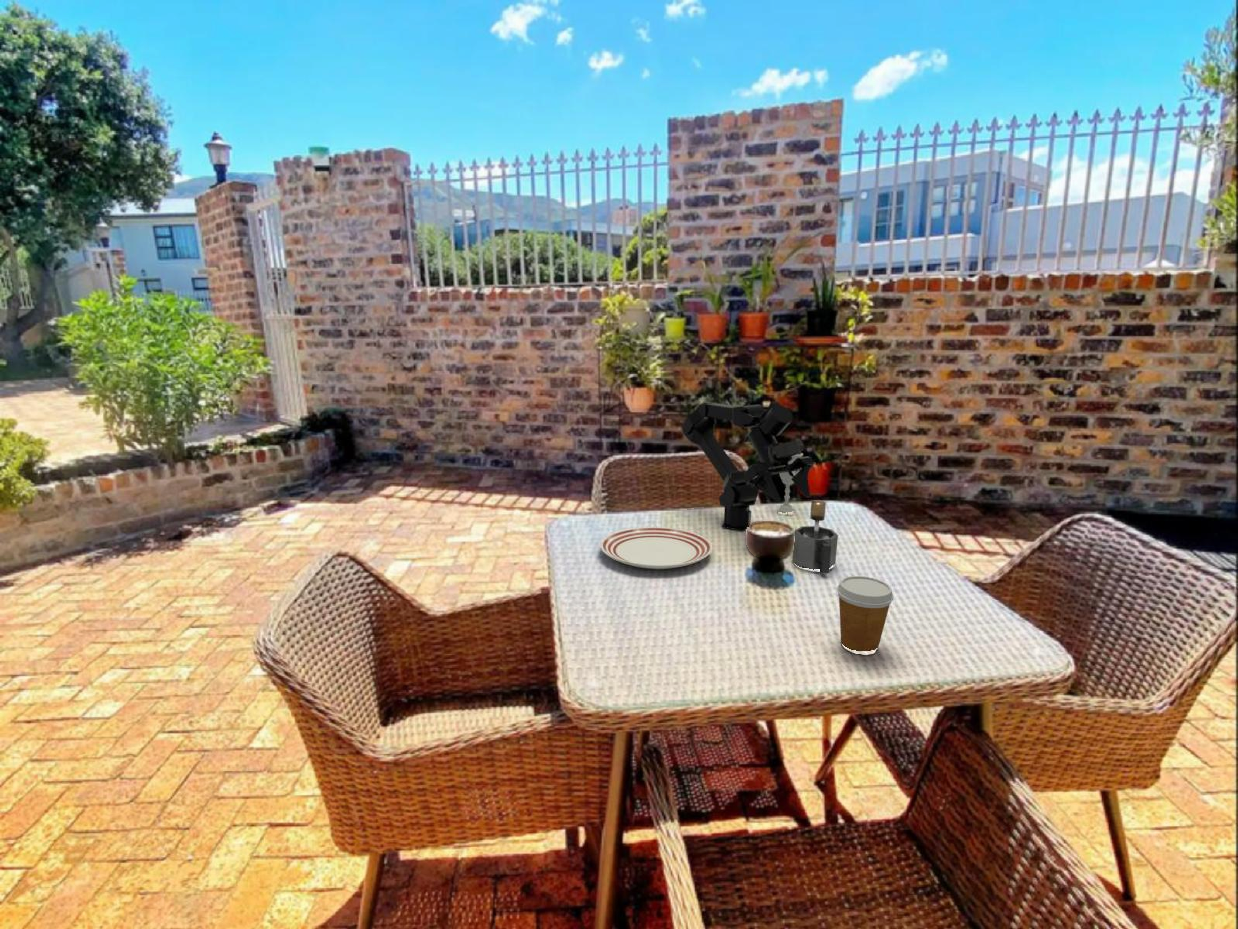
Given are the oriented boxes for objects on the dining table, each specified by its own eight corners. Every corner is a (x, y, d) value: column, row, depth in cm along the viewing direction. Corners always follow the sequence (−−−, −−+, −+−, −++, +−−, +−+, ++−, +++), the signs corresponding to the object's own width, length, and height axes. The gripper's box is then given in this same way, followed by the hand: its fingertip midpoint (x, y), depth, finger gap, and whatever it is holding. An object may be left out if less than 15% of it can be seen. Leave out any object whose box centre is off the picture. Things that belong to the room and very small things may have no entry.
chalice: (772, 515, 189) (776, 455, 184) (774, 508, 195) (777, 450, 191) (798, 517, 187) (802, 457, 182) (799, 510, 193) (803, 451, 189)
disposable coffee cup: (843, 628, 124) (848, 570, 121) (894, 645, 118) (901, 584, 115) (823, 648, 117) (828, 587, 114) (877, 667, 111) (884, 603, 108)
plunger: (797, 548, 151) (800, 504, 148) (802, 539, 157) (806, 496, 154) (827, 553, 148) (831, 508, 145) (832, 543, 154) (835, 500, 151)
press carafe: (788, 557, 158) (790, 526, 156) (824, 556, 158) (827, 525, 156) (805, 577, 146) (808, 544, 144) (844, 576, 147) (847, 543, 145)
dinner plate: (599, 536, 172) (599, 524, 171) (701, 535, 173) (702, 523, 172) (601, 580, 146) (601, 566, 145) (721, 578, 147) (722, 564, 146)
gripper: (752, 431, 154) (781, 487, 147) (811, 424, 162) (841, 477, 155) (731, 457, 162) (757, 510, 156) (788, 449, 171) (815, 500, 164)
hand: (794, 499), depth 157 cm, fingers open, 9 cm apart
